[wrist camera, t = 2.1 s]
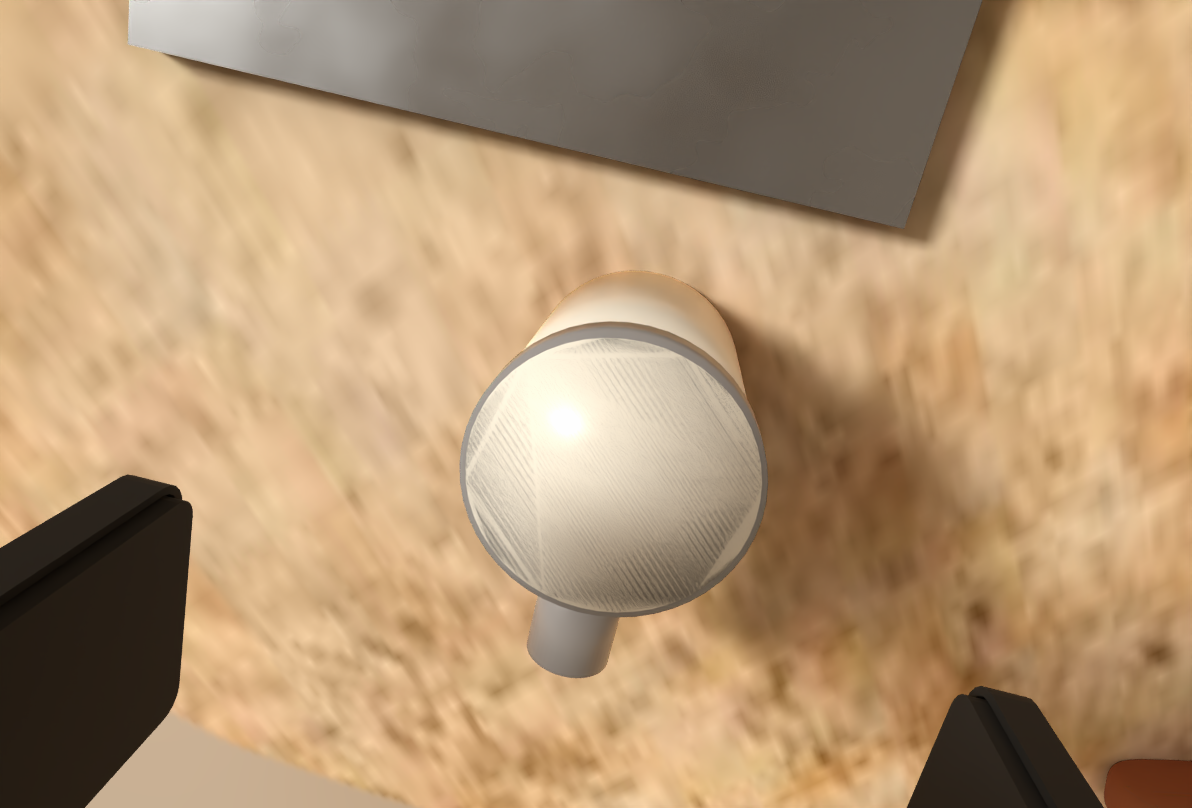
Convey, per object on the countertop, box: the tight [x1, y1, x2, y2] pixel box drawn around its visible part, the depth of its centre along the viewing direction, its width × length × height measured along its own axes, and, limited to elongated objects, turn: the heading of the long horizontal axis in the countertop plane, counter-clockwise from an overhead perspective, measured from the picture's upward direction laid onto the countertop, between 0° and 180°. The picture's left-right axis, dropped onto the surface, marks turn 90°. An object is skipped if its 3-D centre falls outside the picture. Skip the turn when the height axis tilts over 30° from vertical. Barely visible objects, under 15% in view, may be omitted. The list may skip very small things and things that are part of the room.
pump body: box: [460, 271, 768, 678], centre depth 18 cm, size 5×8×7 cm
